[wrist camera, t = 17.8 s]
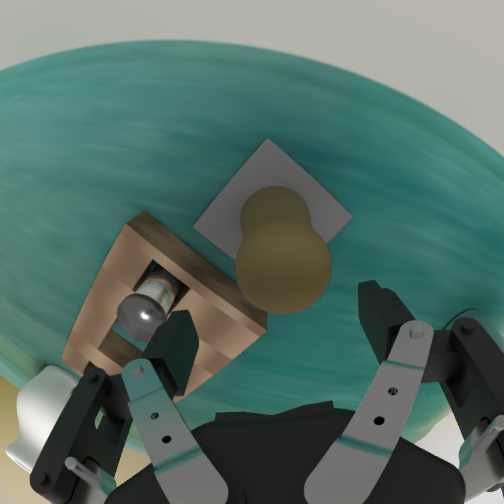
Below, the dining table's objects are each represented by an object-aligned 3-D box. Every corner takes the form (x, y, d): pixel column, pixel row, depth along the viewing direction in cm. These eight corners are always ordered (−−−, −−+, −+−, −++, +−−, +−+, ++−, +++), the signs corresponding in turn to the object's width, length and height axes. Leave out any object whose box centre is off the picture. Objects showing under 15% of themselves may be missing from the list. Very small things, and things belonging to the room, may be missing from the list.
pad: (350, 215, 23) (352, 217, 23) (276, 290, 26) (277, 293, 26) (267, 137, 21) (267, 137, 21) (193, 225, 24) (192, 226, 24)
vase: (116, 416, 38) (81, 502, 19) (70, 409, 40) (35, 478, 21) (69, 359, 33) (11, 453, 14) (28, 359, 35) (-22, 429, 16)
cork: (308, 253, 24) (337, 330, 14) (240, 253, 25) (227, 331, 14) (311, 186, 22) (353, 222, 12) (238, 185, 22) (219, 222, 12)
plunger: (197, 271, 25) (173, 322, 18) (176, 296, 26) (149, 349, 19) (165, 246, 24) (129, 288, 17) (146, 273, 26) (109, 320, 18)
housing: (266, 305, 27) (267, 330, 23) (157, 400, 35) (150, 421, 31) (144, 211, 24) (125, 223, 20) (73, 342, 31) (60, 360, 28)
